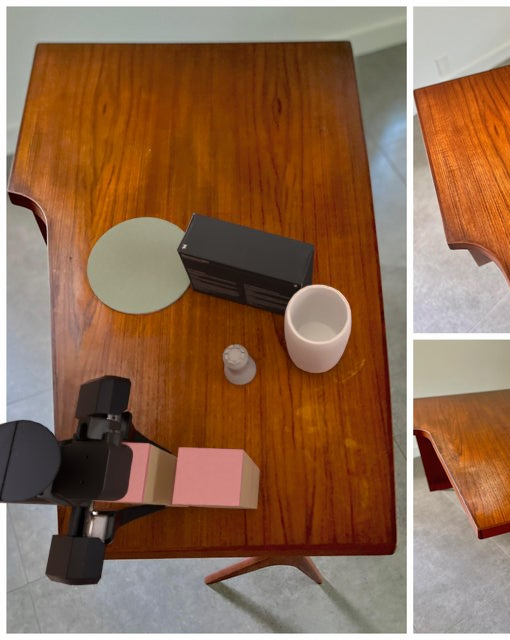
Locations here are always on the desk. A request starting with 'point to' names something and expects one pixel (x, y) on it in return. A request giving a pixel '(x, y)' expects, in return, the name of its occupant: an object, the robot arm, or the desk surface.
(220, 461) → the tall pink tan block
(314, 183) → the desk surface
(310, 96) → the desk surface
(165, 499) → the pink-topped tan pillar
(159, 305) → the plate
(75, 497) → the robot arm
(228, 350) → the rook chess piece
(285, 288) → the box
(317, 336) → the cup
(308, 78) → the desk surface
